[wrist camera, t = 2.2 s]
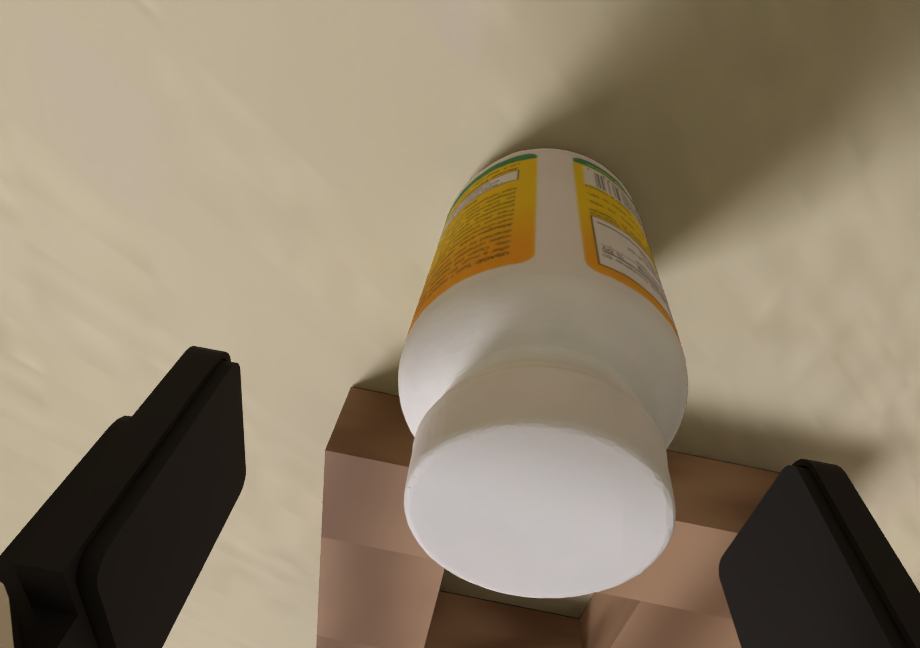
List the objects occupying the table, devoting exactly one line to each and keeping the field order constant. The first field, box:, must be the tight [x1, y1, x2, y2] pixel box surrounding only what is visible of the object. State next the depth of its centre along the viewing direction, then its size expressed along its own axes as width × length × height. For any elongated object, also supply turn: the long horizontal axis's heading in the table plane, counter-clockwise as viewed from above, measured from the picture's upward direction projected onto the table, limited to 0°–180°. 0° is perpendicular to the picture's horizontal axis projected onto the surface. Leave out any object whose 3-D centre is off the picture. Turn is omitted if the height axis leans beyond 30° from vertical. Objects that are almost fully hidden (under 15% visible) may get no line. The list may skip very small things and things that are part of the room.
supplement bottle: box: [398, 148, 688, 598], centre depth 12 cm, size 5×5×10 cm
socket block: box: [316, 387, 780, 648], centre depth 24 cm, size 16×16×3 cm
